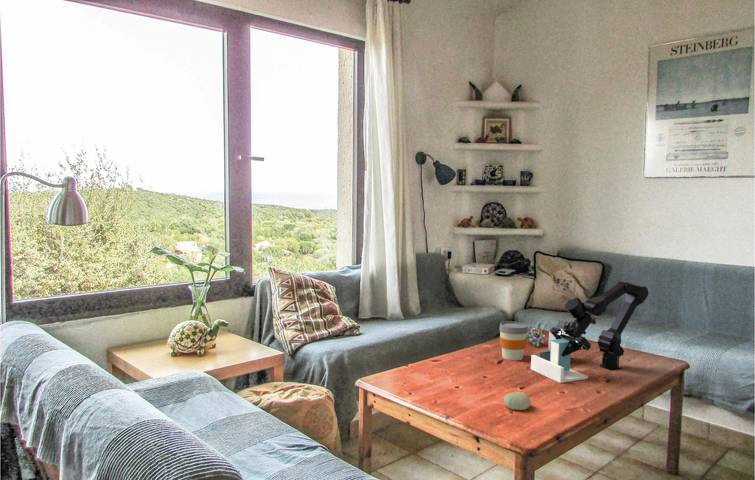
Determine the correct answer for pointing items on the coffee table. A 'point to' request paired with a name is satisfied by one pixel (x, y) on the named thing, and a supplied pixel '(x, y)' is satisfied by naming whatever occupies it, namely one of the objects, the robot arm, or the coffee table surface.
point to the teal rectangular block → (560, 353)
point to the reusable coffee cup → (513, 339)
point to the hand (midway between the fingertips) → (557, 354)
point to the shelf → (553, 369)
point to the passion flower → (534, 335)
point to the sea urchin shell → (517, 401)
